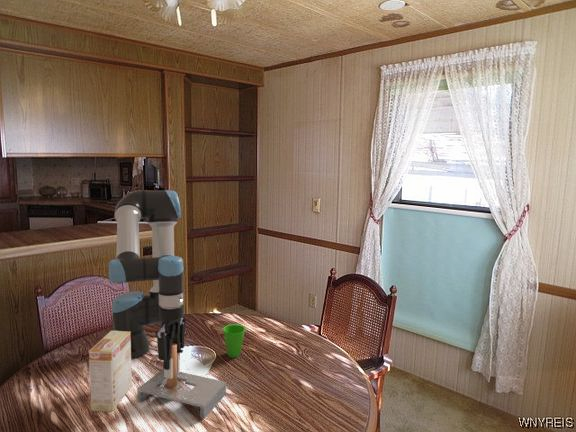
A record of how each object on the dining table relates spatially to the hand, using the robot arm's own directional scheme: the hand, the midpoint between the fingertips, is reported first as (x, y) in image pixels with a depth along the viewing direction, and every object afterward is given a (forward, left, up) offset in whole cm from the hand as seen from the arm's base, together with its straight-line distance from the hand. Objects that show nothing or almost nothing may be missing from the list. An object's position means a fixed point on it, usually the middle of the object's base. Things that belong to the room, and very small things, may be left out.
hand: (171, 374), depth 132 cm
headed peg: (0, 0, -5) cm, 5 cm away
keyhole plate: (+4, 0, -7) cm, 8 cm away
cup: (+6, +33, -8) cm, 34 cm away
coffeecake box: (-17, -8, -8) cm, 20 cm away
